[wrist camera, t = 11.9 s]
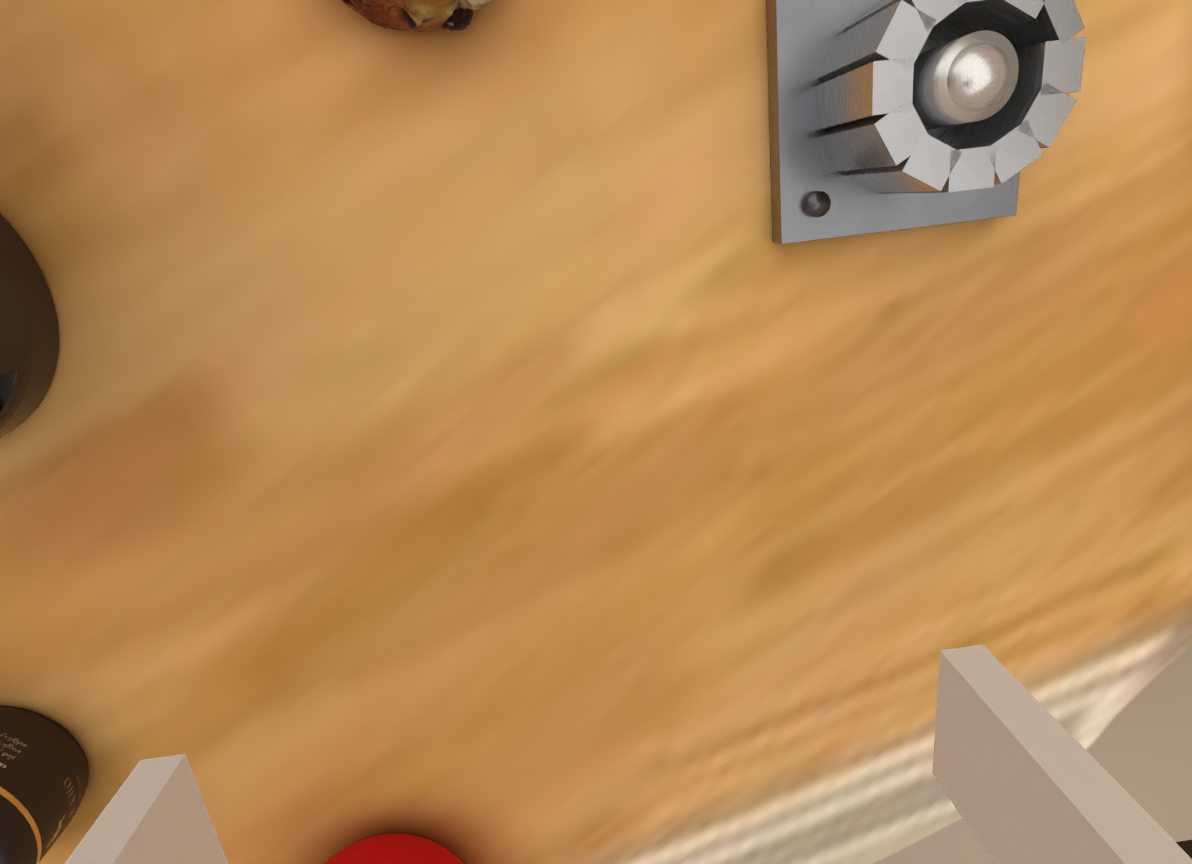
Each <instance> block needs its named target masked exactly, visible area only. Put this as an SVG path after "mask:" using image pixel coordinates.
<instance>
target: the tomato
mask: <svg viewBox="0 0 1192 864" xmlns="http://www.w3.org/2000/svg"><path fill="white" fill-rule="evenodd" d="M325 864H464V863H463V862H462V861H461V860H460V859H459V858H458V857H457V856H455V855H454V854H453V853H452V852H450V851H449V850H447V849H446V848H445V847H443V846H441V845H439V844H437V843H435V842H433V841H431V840H429V839H425V838H422V837H419V836H415V835H408V834H401V833H399V834H382V835H377V836H372V837H368V838H366V839H363V840H361V841H358V842H356V843H354V844H352V845H350V846H348V847H346V848H345V849H343V850H342V851H340V852H339V853H337V854H336V855H334V856H332V857H331V858H330V859H329V860H328V861H327V862H326V863H325Z"/></svg>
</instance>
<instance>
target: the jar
mask: <svg viewBox="0 0 1192 864" xmlns="http://www.w3.org/2000/svg"><path fill="white" fill-rule="evenodd" d="M87 783H88V768H87V763H86V758H85V755H84V753H83V751H82V749H81V747H80V745H79V744H78V742H77V741H76V740H75V738H74V737H73V736H72V735H71V734H70V733H69V732H68V731H67V730H66V729H64V728H63V727H62V726H61V725H59V724H58V723H56V722H55V721H53V720H51V719H49V718H47V717H45V716H43V715H41V714H38V713H36V712H33V711H30V710H26V709H22V708H16V707H7V706H0V864H38V863H39V862H40V860H41V859H42V858H43V856H44V855H45V854H46V853H47V851H48V850H49V849H50V847H51V846H52V845H53V844H54V842H55V841H56V840H57V838H58V837H59V836H60V834H61V833H62V832H63V831H64V829H65V828H66V827H67V825H68V824H69V823H70V821H71V820H72V818H73V817H74V815H75V813H76V811H77V809H78V807H79V805H80V802H81V800H82V798H83V795H84V793H85V790H86V787H87Z"/></svg>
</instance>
